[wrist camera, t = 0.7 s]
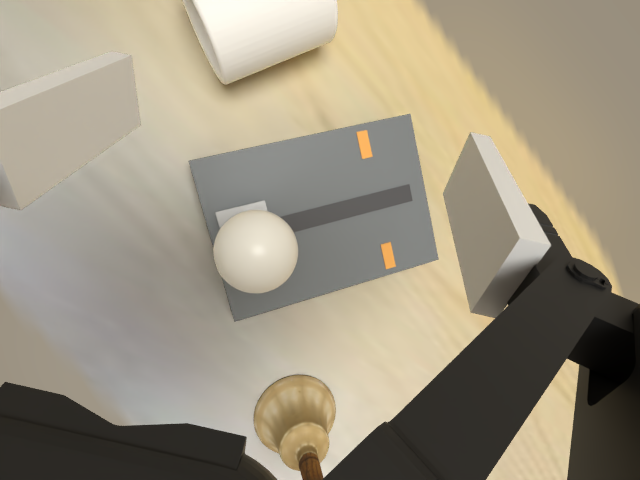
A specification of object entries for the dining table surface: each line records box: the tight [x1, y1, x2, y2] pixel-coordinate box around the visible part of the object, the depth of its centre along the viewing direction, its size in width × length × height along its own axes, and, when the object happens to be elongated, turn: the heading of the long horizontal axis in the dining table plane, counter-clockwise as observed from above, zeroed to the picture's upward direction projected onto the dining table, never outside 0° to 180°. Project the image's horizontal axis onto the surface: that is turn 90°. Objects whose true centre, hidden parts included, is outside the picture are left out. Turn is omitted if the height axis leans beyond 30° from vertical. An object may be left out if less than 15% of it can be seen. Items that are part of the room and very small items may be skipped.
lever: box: [213, 200, 298, 293], centre depth 25 cm, size 5×5×14 cm
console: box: [189, 114, 438, 322], centre depth 35 cm, size 14×20×3 cm
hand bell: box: [254, 375, 336, 480], centre depth 30 cm, size 8×8×16 cm
